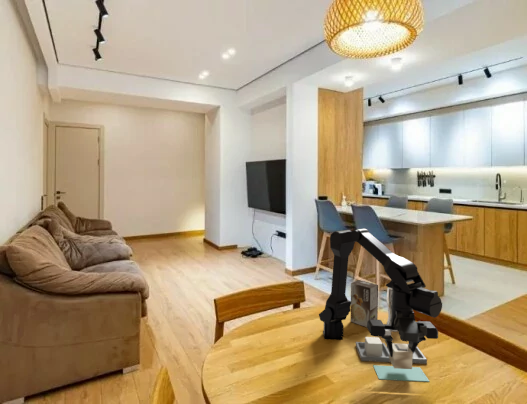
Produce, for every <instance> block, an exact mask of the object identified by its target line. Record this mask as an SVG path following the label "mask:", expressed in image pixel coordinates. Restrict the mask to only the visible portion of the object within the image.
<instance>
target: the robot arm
mask: <svg viewBox="0 0 527 404" xmlns="http://www.w3.org/2000/svg"><path fill="white" fill-rule="evenodd" d="M356 243H357V244H359V245H360V246H361V247H362V248H363V249H365V250H366V251H367V252H368V253H369V254H370V255H371V256H372V257H373V258H374V259H375V260H376V261H377V262H379V263H380V264H381V266H383V270H384V272H385V274H386V276H388V277H389V279H390V281H389V282H388V283H386V284H385V286H386V287H387V288H388V287H390V288H392V305H391V309H392V318H391V319H390V321H391V324H387V323H384V322H383V321H382V320H381V319H378V320H372V319H369V320H368V322H367V327H366V329H367V330H368V332H369V334H370V337H379V338H380V337H381V338H382V339H383V340H385V343H386V344H385V345H386V347H388V350H389V353H390V356H391V357H392V356H393V346H392V343H393V340H394V338H393V336H392V333H393V332H397V333H398V336H399V340H401V341H402V342H404V343H405V342H406V343H408V344H409V345H408V346H409V348H410V349H411V351H412V352H413V353H414V351H415V349H416V347H418V346H419V344H420V343H421V342H424V341H427V340H428V339H432V340H438V339H439V330H438V329H437V327H435V325H434V324H433V323H432V322H431V321H427V320H426V321H421V320H418V321H416V319H415V312H418V313H419V314H423V315H426V316H429V317H432V318H437V317H438V316H439V315H440V314H441V311H442V310H443V302H442V299H441V297H440V296H439V292H438V291H437V290H432V289H427V288H426V286H427V285H426V284H425V282H424V280H423V278H422V277H421V275H420V273H419V272H418V267H417V265H416V264H415V263H414V262H412V261H411V260H409V259H407V258H405V257H403V256H399V255H397V254H396V253H394V252H392V251H391V249H389V248H388V247H387V246H385V244H383V243H382V242H381V241H380V240H378V239H377V238H376V237H375V236H373V234H372V233H370V231H369V230H368V229H366V228H357V229H354V230H350V229H346V230H335V231H333V232H331V234H330V238H329V244H330V245H329V246H330V250H331V252H332V253H333V264H332V277H331V278H332V279H331V290H330V291H331V292H330V295H329V296H328V297H327V298H326V299H327V300H326V302H325V305H324V309H323V310H322V311H321V312H320V313H319V314H318V318H319V320H320V321H321V322H322V323H323V330H322V334H323V335H322V336H323V339H324V340H332V341H335V340H336V341H337V340H338V341H343V337H344V324H343V323H344V322H343V321H345V320H346V319H347V316H349V314H350V313H351V300H349V299H348V298H347V296H346V290H347V279H348V265H349V256H350V255H351V253H352V252H353V250H354V247H355V244H356ZM410 282H412V283H410Z"/></svg>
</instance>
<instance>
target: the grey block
mask: <svg viewBox="0 0 527 404" xmlns="http://www.w3.org/2000/svg"><path fill="white" fill-rule="evenodd" d="M364 342H365V351H366V354H367V356H382V343H383V342H382V340H381V339H380V337H379V336H364Z"/></svg>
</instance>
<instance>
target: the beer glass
mask: <svg viewBox="0 0 527 404" xmlns="http://www.w3.org/2000/svg"><path fill="white" fill-rule="evenodd" d="M391 305H392V288H390V287H387V290H386V306H387V313H388V315H387V316H388V317H387V322H386V324H391V321H390V319H391V318H392V309H391Z"/></svg>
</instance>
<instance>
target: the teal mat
mask: <svg viewBox="0 0 527 404" xmlns="http://www.w3.org/2000/svg"><path fill="white" fill-rule="evenodd" d="M372 367H373V369H374V371H375V373H376V376H377V378H378V380H385V381H402V382H403V381H404V382H424V383H425V382H426V383H430V380H429V378H428V377H427V375H426V374H425V373H424V371H423V369H422V368H421V367H420V366H419V367H418V366H412V369H399V368H394V367H393V365H377V364H376V365H374V364H373V366H372Z"/></svg>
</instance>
